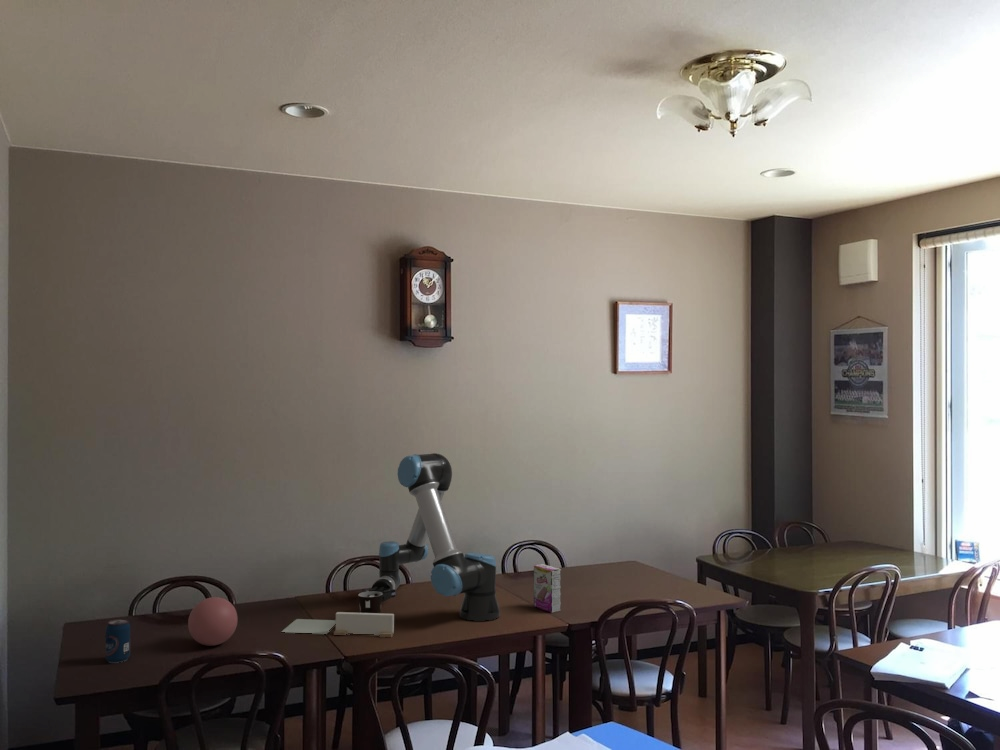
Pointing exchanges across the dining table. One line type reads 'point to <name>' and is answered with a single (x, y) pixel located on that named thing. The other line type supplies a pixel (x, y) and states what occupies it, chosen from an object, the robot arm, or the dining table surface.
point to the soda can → (117, 641)
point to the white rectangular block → (364, 623)
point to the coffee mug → (374, 602)
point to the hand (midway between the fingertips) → (367, 603)
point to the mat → (310, 626)
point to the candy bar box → (547, 588)
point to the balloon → (212, 621)
